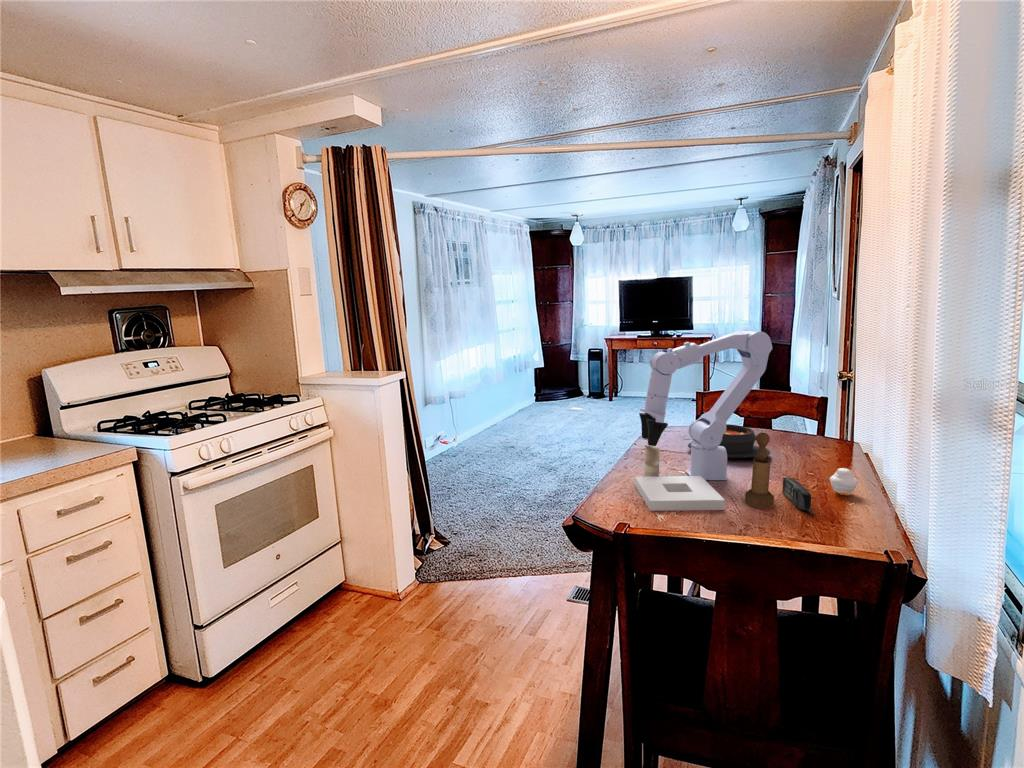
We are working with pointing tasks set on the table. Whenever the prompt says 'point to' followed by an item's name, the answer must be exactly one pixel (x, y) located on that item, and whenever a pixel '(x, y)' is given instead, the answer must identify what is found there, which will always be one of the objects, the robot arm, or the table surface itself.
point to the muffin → (843, 481)
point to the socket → (678, 493)
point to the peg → (652, 461)
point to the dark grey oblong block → (797, 494)
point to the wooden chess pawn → (760, 477)
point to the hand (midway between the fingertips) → (648, 441)
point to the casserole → (739, 442)
